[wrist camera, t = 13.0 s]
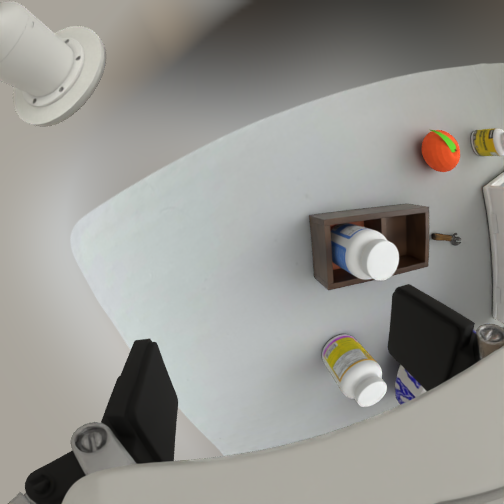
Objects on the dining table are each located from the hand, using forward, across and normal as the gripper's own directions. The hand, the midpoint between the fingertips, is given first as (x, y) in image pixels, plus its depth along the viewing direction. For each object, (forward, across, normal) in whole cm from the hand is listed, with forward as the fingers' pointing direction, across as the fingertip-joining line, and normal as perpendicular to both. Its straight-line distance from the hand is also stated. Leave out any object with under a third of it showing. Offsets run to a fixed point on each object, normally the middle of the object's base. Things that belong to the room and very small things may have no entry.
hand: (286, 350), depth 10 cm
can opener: (+28, -38, +7) cm, 48 cm away
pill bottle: (+28, -15, +4) cm, 32 cm away
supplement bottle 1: (+28, -14, +23) cm, 39 cm away
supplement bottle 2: (+28, -51, -11) cm, 59 cm away
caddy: (+28, -20, +4) cm, 35 cm away
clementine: (+28, -34, -9) cm, 45 cm away
